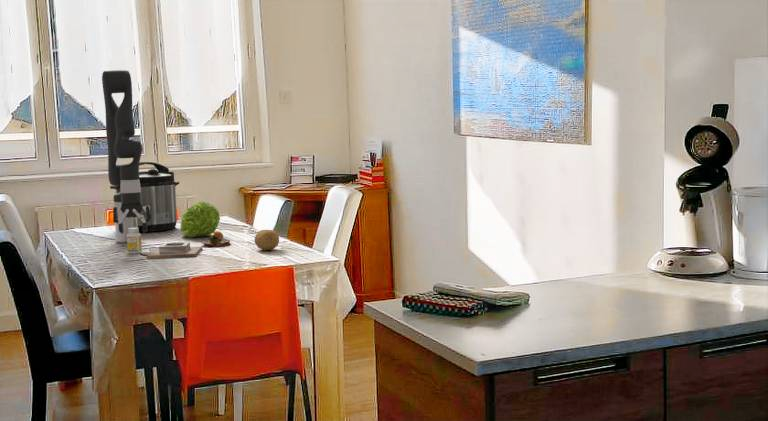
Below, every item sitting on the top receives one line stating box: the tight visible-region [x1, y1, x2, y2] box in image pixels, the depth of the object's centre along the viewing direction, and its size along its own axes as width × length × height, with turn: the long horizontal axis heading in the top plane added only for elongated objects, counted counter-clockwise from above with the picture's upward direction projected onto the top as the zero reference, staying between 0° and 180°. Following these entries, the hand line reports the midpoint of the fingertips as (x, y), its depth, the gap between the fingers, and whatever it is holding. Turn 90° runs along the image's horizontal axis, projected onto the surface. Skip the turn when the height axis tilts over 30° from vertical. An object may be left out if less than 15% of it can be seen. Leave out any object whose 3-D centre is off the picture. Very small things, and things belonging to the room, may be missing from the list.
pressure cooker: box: [109, 161, 180, 232], centre depth 420 cm, size 30×28×32 cm
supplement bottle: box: [126, 228, 142, 254], centre depth 352 cm, size 5×5×10 cm
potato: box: [254, 229, 280, 251], centre depth 349 cm, size 10×14×8 cm
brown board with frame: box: [146, 241, 203, 260], centre depth 346 cm, size 18×18×4 cm
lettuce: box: [180, 201, 221, 238], centre depth 395 cm, size 15×25×16 cm
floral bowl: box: [201, 230, 231, 248], centre depth 366 cm, size 12×12×8 cm
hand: (133, 232), depth 352 cm, fingers open, 8 cm apart
